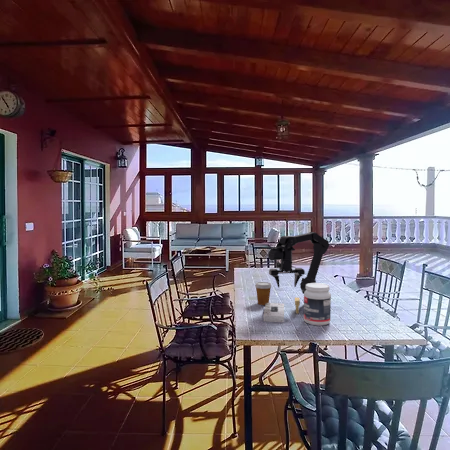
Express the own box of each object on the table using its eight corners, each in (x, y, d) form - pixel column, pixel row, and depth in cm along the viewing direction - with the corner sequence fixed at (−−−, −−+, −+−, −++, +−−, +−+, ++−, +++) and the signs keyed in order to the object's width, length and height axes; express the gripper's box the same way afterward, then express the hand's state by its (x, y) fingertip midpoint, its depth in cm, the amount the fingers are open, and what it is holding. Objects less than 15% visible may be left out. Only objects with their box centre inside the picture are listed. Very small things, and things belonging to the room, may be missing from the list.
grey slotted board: (284, 308, 198) (284, 303, 198) (284, 322, 175) (284, 316, 174) (265, 308, 200) (265, 302, 200) (263, 321, 176) (263, 315, 176)
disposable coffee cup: (258, 306, 203) (258, 285, 203) (252, 302, 212) (252, 282, 212) (274, 305, 206) (274, 284, 205) (267, 301, 215) (267, 281, 214)
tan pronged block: (299, 310, 195) (299, 297, 195) (299, 314, 189) (299, 300, 188) (294, 310, 196) (294, 297, 195) (295, 313, 189) (295, 300, 189)
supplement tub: (298, 322, 175) (298, 285, 174) (312, 316, 184) (312, 281, 183) (321, 328, 166) (322, 289, 165) (335, 322, 175) (336, 285, 174)
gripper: (298, 256, 204) (298, 283, 205) (266, 257, 203) (267, 284, 203) (304, 259, 193) (305, 287, 194) (271, 260, 192) (271, 289, 192)
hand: (286, 287), depth 196 cm, fingers open, 9 cm apart
